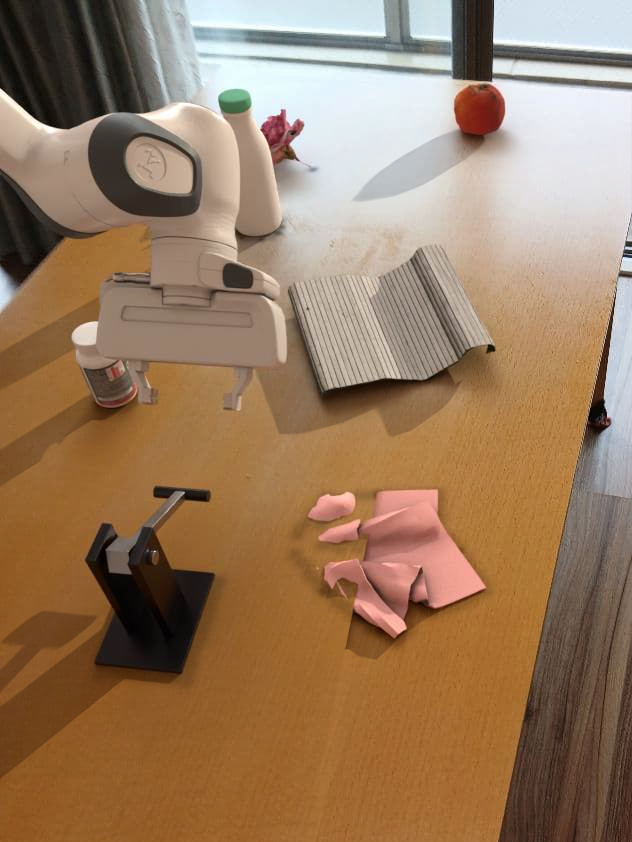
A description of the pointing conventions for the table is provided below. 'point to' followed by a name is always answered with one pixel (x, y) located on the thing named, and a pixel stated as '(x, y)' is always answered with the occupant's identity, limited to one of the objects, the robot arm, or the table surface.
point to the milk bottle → (252, 167)
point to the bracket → (148, 605)
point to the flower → (281, 136)
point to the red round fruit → (479, 109)
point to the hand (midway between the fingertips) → (189, 407)
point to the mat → (387, 323)
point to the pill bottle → (102, 370)
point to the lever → (152, 523)
